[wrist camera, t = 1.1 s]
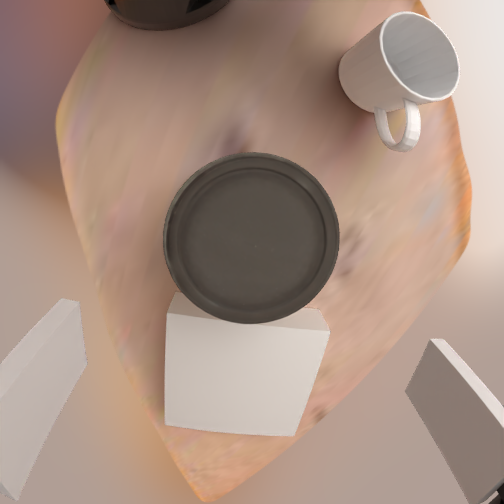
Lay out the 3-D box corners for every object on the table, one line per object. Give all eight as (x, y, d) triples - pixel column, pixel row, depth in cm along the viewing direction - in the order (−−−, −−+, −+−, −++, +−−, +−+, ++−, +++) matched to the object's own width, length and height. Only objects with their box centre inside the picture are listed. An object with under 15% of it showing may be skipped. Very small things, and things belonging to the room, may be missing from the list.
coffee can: (295, 153, 30) (341, 152, 17) (296, 254, 33) (335, 318, 20) (189, 158, 30) (154, 159, 16) (197, 259, 33) (173, 328, 19)
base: (175, 291, 34) (167, 312, 29) (318, 309, 35) (330, 331, 30) (170, 398, 38) (164, 424, 33) (288, 410, 40) (294, 436, 35)
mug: (340, 37, 27) (380, -3, 17) (405, 58, 27) (459, 33, 17) (328, 143, 30) (370, 138, 20) (395, 159, 31) (454, 164, 21)
